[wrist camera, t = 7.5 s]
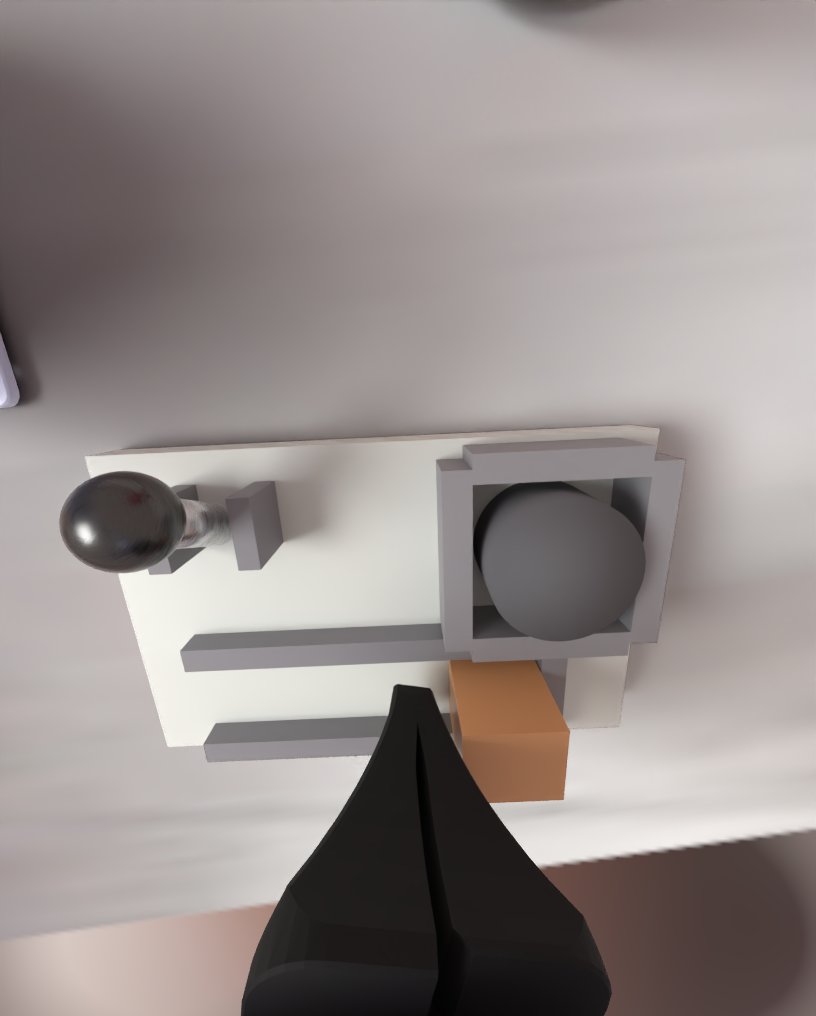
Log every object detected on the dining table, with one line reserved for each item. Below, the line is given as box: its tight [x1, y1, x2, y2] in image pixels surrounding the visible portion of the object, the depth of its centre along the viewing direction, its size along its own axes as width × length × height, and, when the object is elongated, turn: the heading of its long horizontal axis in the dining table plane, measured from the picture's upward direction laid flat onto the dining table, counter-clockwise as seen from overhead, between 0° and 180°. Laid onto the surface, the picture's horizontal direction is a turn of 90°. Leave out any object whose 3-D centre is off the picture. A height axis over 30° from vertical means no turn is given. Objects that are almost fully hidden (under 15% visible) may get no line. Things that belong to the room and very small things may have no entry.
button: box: [473, 481, 646, 641], centre depth 11 cm, size 4×4×2 cm
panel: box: [84, 425, 686, 762], centre depth 13 cm, size 11×17×4 cm, turn 93°
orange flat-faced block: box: [448, 659, 570, 803], centre depth 12 cm, size 2×3×3 cm
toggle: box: [59, 471, 233, 573], centre depth 9 cm, size 2×2×5 cm
